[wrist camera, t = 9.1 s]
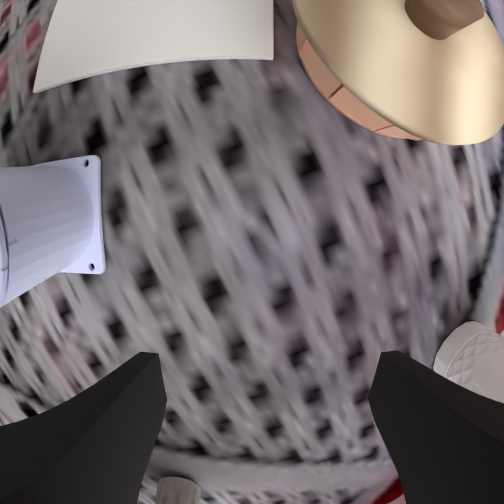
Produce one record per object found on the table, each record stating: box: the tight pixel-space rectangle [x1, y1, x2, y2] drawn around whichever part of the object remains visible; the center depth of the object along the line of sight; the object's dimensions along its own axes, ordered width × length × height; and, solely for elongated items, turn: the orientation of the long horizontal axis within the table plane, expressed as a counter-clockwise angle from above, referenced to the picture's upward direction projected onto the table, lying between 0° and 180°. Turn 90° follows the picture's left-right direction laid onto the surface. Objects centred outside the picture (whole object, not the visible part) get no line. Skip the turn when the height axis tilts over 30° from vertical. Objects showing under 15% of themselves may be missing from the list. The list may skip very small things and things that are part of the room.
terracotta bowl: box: [296, 20, 423, 140], centre depth 12 cm, size 13×13×5 cm
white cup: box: [433, 321, 504, 403], centre depth 16 cm, size 8×8×10 cm
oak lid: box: [292, 0, 504, 145], centre depth 8 cm, size 15×15×4 cm
